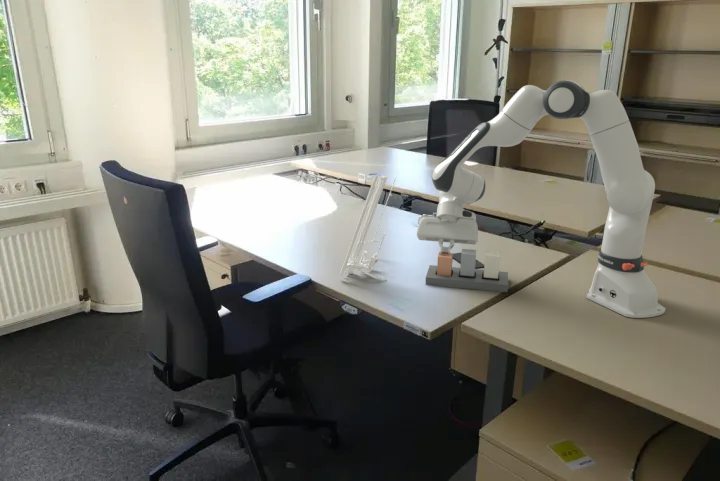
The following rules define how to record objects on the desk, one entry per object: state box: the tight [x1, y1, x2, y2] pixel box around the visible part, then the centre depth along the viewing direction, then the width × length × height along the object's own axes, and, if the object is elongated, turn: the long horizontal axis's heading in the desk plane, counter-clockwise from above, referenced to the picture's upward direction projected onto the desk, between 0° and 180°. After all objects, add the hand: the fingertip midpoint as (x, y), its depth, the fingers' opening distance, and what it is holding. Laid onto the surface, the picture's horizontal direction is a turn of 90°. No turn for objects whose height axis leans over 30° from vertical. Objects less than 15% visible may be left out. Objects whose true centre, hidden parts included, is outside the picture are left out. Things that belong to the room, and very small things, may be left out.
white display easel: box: [339, 175, 397, 281], centre depth 180 cm, size 24×14×35 cm, turn 148°
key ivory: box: [483, 250, 501, 279], centre depth 172 cm, size 4×4×8 cm
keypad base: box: [425, 264, 509, 293], centre depth 175 cm, size 26×11×2 cm, turn 76°
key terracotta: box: [436, 251, 454, 276], centre depth 176 cm, size 4×4×8 cm
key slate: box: [459, 248, 477, 276], centre depth 174 cm, size 4×4×8 cm
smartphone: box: [453, 251, 485, 269], centre depth 194 cm, size 7×1×15 cm
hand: (445, 252), depth 175 cm, fingers closed, pressing on key terracotta
